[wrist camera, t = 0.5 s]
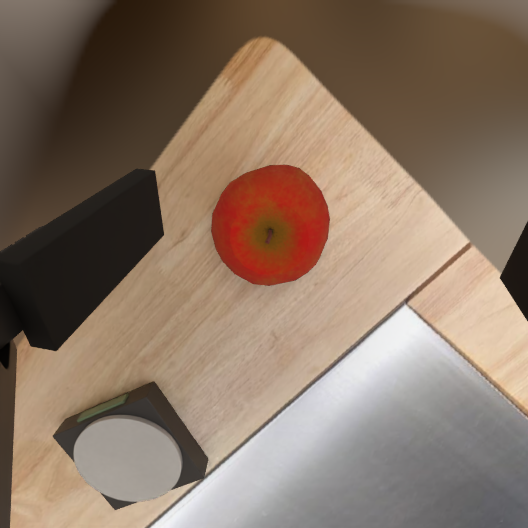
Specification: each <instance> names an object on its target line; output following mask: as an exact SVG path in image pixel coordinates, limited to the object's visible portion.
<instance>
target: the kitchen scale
mask: <svg viewBox="0 0 528 528" xmlns="http://www.w3.org/2000/svg"><path fill="white" fill-rule="evenodd" d="M53 438H54V439H55V440H56V441H57V442H58V443H59V445H60V446H61V447H62V448H63V449H64V450H65V452H66V453H67V454H68V455H69V456H70V458H71V459H72V460H73V461H74V462H75V465H76V467H77V470H78V471H79V473H80V475H81V476H82V477H83V479H84V480H85V481H86V482H87V483H88V484H89V485H90V486H92V487H93V488H94V489H96V490H97V491H99V492H100V493H101V494H102V495H103V496H104V498H105V499H106V500H107V501H108V502H109V503H110V505H111V506H112V507H113V508H114V509H115V510H117V509H120V508H122V507H125V506H128V505H131V504H133V503H136V502H140V501H148V500H152V499H155V498H158V497H160V496H162V495H164V494H166V493H167V492H168V491H170V490H172V489H175V488H178V487H181V486H183V485H186V484H189V483H192V482H195V481H197V480H200V479H203V478H204V477H205V472H206V468H207V463H208V458H207V457H206V455H205V454H204V452H203V451H202V449H201V448H200V447H199V445H198V444H197V442H196V441H195V439H194V438H193V436H192V435H191V434H190V432H189V431H188V429H187V428H186V426H185V425H184V424H183V422H182V421H181V419H180V418H179V416H178V415H177V414H176V412H175V411H174V409H173V408H172V406H171V405H170V403H169V402H168V401H167V399H166V398H165V396H164V395H163V393H162V392H161V391H160V389H159V388H158V386H157V385H156V383H155V382H152V383H150V384H147V385H145V386H143V387H140V388H138V389H136V390H133V391H131V392H129V393H126V394H124V395H121V396H119V397H117V398H114V399H112V400H110V401H107V402H105V403H103V404H100V405H98V406H96V407H93V408H91V409H88V410H86V411H84V412H81V413H79V414H77V415H74V416H72V417H70V418H67V419H65V421H64V422H63V423H62V424H61V426H60V427H59V428H58V430H57V431H56V432H55V434H54V435H53Z"/></svg>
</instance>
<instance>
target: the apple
mask: <svg viewBox="0 0 528 528" xmlns="http://www.w3.org/2000/svg"><path fill="white" fill-rule="evenodd" d="M329 221H330V217H329V211H328V206H327V204H326V201H325V199H324V197H323V194H322V192H321V190H320V189H319V188H318V186H317V185H316V184H315V182H314V181H313V180H312V179H311V177H310V176H309V175H308V174H306V173H305V172H304V171H302V170H301V169H300V168H297V167H293V166H290V165H269V166H266V167H263V168H260V169H257V170H254V171H250V172H247V173H245V174H243V175H242V176H240V177H238V178H237V179H235V180H233V181H232V182H230V183H229V185H228V186H227V187H226V189H225V190H224V191H223V193H222V194H221V196H220V198H219V201H218V203H217V205H216V207H215V209H214V212H213V214H212V229H211V232H212V236H213V240H214V244H215V248H216V250H217V252H218V254H219V256H220V257H221V259H222V261H223V262H224V263H225V264H226V265H227V266H228V267H229V268H230V269H231V271H232V272H233V273H234V274H236V275H238V276H239V277H241V278H243V279H245V280H247V281H249V282H250V283H252V284H257V285H267V286H270V285H275V284H280V283H285V282H289V281H294V280H296V279H298V278H300V277H301V276H303V275H304V274H306V273H308V272H309V271H310V270H311V269H312V268H313V267H314V266H315V265H316V263H317V261H318V260H319V258H320V256H321V253H322V251H323V248H324V246H325V243H326V241H327V239H328V231H329Z"/></svg>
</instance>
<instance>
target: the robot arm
mask: <svg viewBox="0 0 528 528" xmlns="http://www.w3.org/2000/svg"><path fill="white" fill-rule="evenodd" d="M163 236H164V230H163V223H162V216H161V209H160V202H159V195H158V188H157V181H156V174H155V171H154V170H144V169H135V170H133V171H132V172H130V173H129V174H127V175H125V176H124V177H122V178H120V179H119V180H117V181H116V182H114V183H112V184H111V185H109V186H108V187H106V188H104V189H103V190H101V191H100V192H98V193H96V194H95V195H93V196H91V197H90V198H88V199H87V200H85V201H83V202H82V203H80V204H79V205H77V206H75V207H74V208H72V209H71V210H69V211H67V212H66V213H64V214H63V215H61V216H59V217H58V218H56V219H54V220H53V221H51V222H50V223H48V224H47V225H45V226H42V227H39V228H38V229H36V230H34V231H33V232H32V233H30V234H28V235H26V237H25V238H21V239H20V240H18V241H17V242H15V244H14V245H10V246H8V247H7V248H5V249H4V250H2V251H0V528H10V511H11V487H12V462H13V437H14V413H15V388H16V363H17V348H16V345H15V343H14V341H13V338H14V337H16V336H17V334H19V333H20V332H21V331H22V330H23V331H24V333H25V335H26V337H27V339H28V341H29V344H30V346H32V347H37V348H42V349H48V350H53V351H57V350H58V349H59V348H60V347H61V346H62V344H63V343H64V342H65V341H66V340H67V339H68V338H69V337H70V336H71V335H72V334H73V333H74V332H75V330H76V329H77V328H78V327H79V326H80V325H81V324H82V323H83V322H84V321H85V320H86V319H87V318H88V316H89V315H90V314H91V313H92V312H93V311H94V310H95V309H96V308H97V307H98V306H99V305H100V303H101V302H102V301H103V300H104V299H105V298H106V297H107V296H108V295H109V294H110V293H111V292H112V291H113V289H114V288H115V287H116V286H117V285H118V284H119V283H120V282H121V281H122V280H123V279H124V278H125V277H126V275H127V274H128V273H129V272H130V271H131V270H132V269H133V268H134V267H135V266H136V265H137V264H138V262H139V261H140V260H141V259H142V258H143V257H144V256H145V255H146V254H147V253H148V252H149V251H150V250H151V248H152V247H153V246H154V245H155V244H156V243H157V242H158V241H159V240H160V239H161V238H162V237H163ZM500 279H501V281H502V282H503V284H504V285H505V287H506V288H507V290H508V291H509V293H510V295H511V296H512V298H513V299H514V301H515V302H516V304H517V305H518V307H519V309H520V310H521V312H522V313H523V315H524V316H525V318H526V319H527V321H528V222H527V224H526V226H525V228H524V230H523V232H522V234H521V236H520V238H519V240H518V242H517V244H516V246H515V248H514V250H513V252H512V254H511V256H510V258H509V260H508V262H507V264H506V266H505V268H504V270H503V272H502V274H501V276H500Z"/></svg>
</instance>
